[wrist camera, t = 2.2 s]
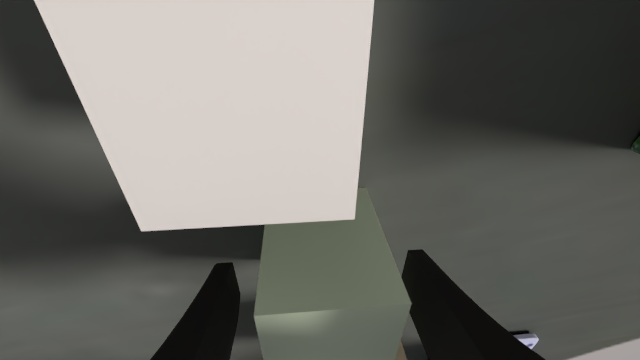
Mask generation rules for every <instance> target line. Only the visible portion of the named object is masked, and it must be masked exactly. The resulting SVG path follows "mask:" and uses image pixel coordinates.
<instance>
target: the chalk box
mask: <svg viewBox="0 0 640 360" xmlns="http://www.w3.org/2000/svg"><path fill="white" fill-rule="evenodd" d="M631 149H632V150H633V151H634V152H637V153H639V154H640V136H639V137H638V138H637V139H636V140H635V142H634V143H633V144H632V148H631Z"/></svg>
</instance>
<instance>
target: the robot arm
mask: <svg viewBox="0 0 640 360" xmlns="http://www.w3.org/2000/svg"><path fill="white" fill-rule="evenodd" d="M401 278H402V280H403V283H404V286H405V288H406V291H407V293H408V296H409V298H410V301H411V303H412V304H411V307H410V311H409V312H410V315H411V317H412V320H413V322H414V325H415V327H416V329H417V332H418V334H419V337H420V339H421V342H422V344H423V346H424V349H425V351H426V354H427V356H428V358H429V360H545V359H544V358H542V357H541V356H540V355H538V354H537V353H535V352H534V351H533V350H531V349H532V348H533V347H534V346H535V344H536V343H537V342H538V340H539V339H538V337H537V336H536V335H535V334H532V333H531V334H520V335H512V334H511V333H509V332H508V331H507V330H506V329H505V328H503V327H502V326H501V325H500V324H498V323H497V322H496V321H495V320H494V319H493V318H491V317H490V316H489V315H488V314H487V313H486V312H485V311H484V310H483V309H481V308H480V307H479V306H478V305H477V304H476V303H475V302H474V301H473V300H472V299H471V298H470V297H468V296H467V295H466V294H465V293H464V292H463V291H462V290H461V289H460V288H459V287H458V286H457V285H456V284H455V283H454V282H453V281H452V280H451V279H450V278H449V277H448V276H447V275H446V274H445V273H444V272H443V271H442V269H441V268H440V267H439V266H438V265H437V264H436V263H435V262H434V261H433V260H432V259H431V258H430V257H429V256H428V255H427V254H426V253H425V252H424V251H423V250H408V253H407V257H406V261H405V265H404V269H403V273H402V277H401ZM239 304H240V291H239V287H238V283H237V278H236V274H235V270H234V266H233V262H230V263H217V264H216V265H215V266H214V267H213V269H212V271H211V273H210V274H209V276H208V278H207V280H206V281H205V283H204V285H203V286H202V288H201V289H200V291H199V293H198V294H197V296H196V297H195V299H194V300H193V302H192V303H191V305H190V306H189V308H188V309H187V311H186V312H185V314H184V315H183V317H182V318H181V320H180V321H179V322H178V324H177V325H176V326H175V328H174V329H173V331H172V332H171V333H170V335H169V336H168V337H167V339H166V340H165V342H164V343H163V344H162V345H161V347H160V348H159V349H158V351H157V352H156V353H155V354H154V356H153V357H152V358H151V359H150V360H229V359H230V355H231V350H232V345H233V341H234V336H235V331H236V326H237V321H238V313H239Z"/></svg>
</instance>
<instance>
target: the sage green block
mask: <svg viewBox="0 0 640 360" xmlns="http://www.w3.org/2000/svg"><path fill="white" fill-rule="evenodd" d="M411 304H412V303H411V301H410V298H409V296H408V293H407V291H406V288H405V286H404V283H403V280H402V278H401V275H400V273H399V270H398V268H397V265H396V263H395V260H394V258H393V255H392V253H391V250H390V248H389V245H388V243H387V240H386V238H385V235H384V232H383V230H382V227H381V225H380V222H379V220H378V217H377V215H376V212H375V210H374V207H373V205H372V202H371V200H370V197H369V195H368V192H367V189H366V187H365V188H357V199H356V210H355V219H353V220H335V221H317V222H299V223H282V224H265V226H264V234H263V243H262V251H261V259H260V268H259V276H258V284H257V292H256V301H255V309H254V320H255V324H256V329H257V334H258V338H259V343H260V347H261V352H262V356H263V360H395V358H396V355H397V351H398V348H399V344H400V341H401V338H402V334H403V331H404V328H405V324H406V321H407V318H408V314H409V311H410V307H411Z"/></svg>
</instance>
